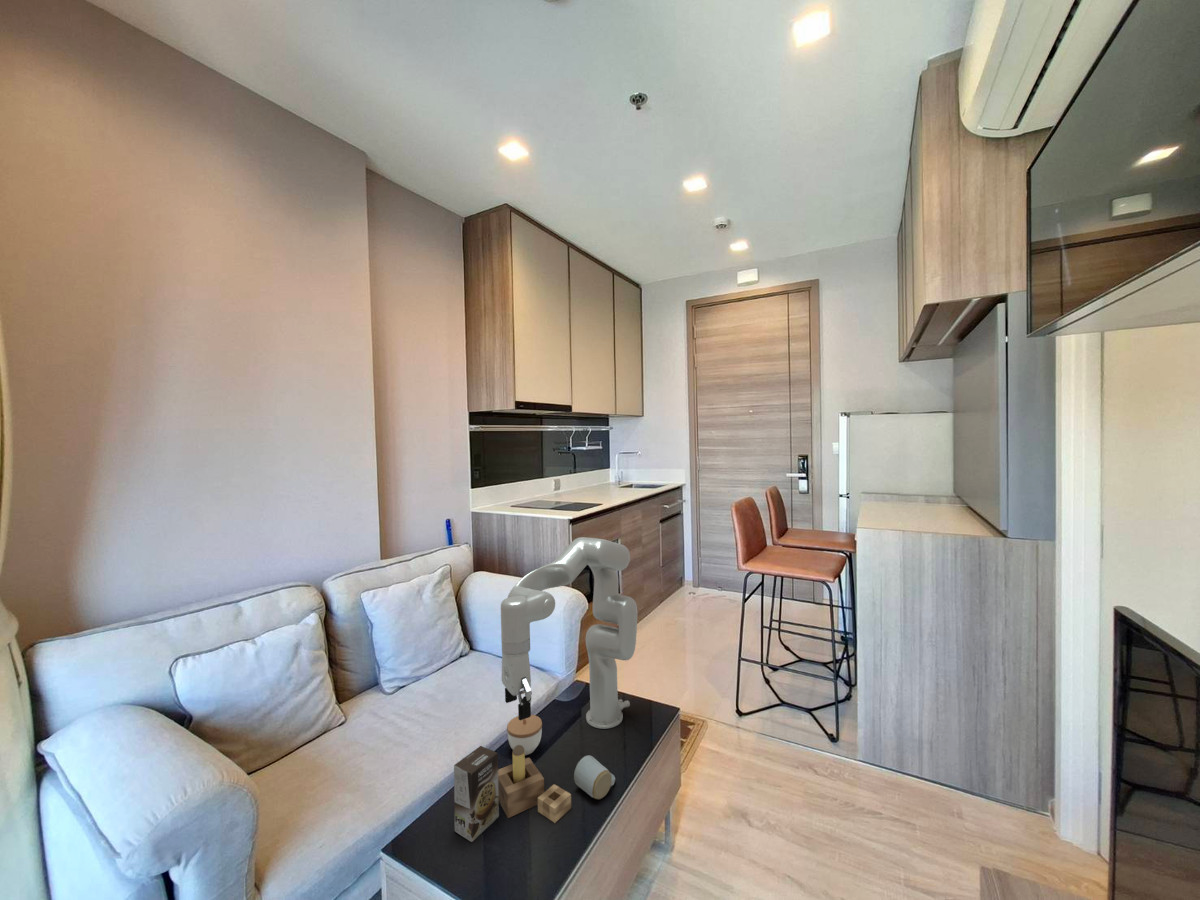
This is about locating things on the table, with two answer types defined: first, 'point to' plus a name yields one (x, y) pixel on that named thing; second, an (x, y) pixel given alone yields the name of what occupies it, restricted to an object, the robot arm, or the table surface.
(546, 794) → the loose bead
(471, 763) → the coffee box
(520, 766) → the tan cylindrical rod
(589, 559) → the robot arm
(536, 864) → the table surface
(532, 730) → the lidded jar
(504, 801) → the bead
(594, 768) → the ceramic mug
